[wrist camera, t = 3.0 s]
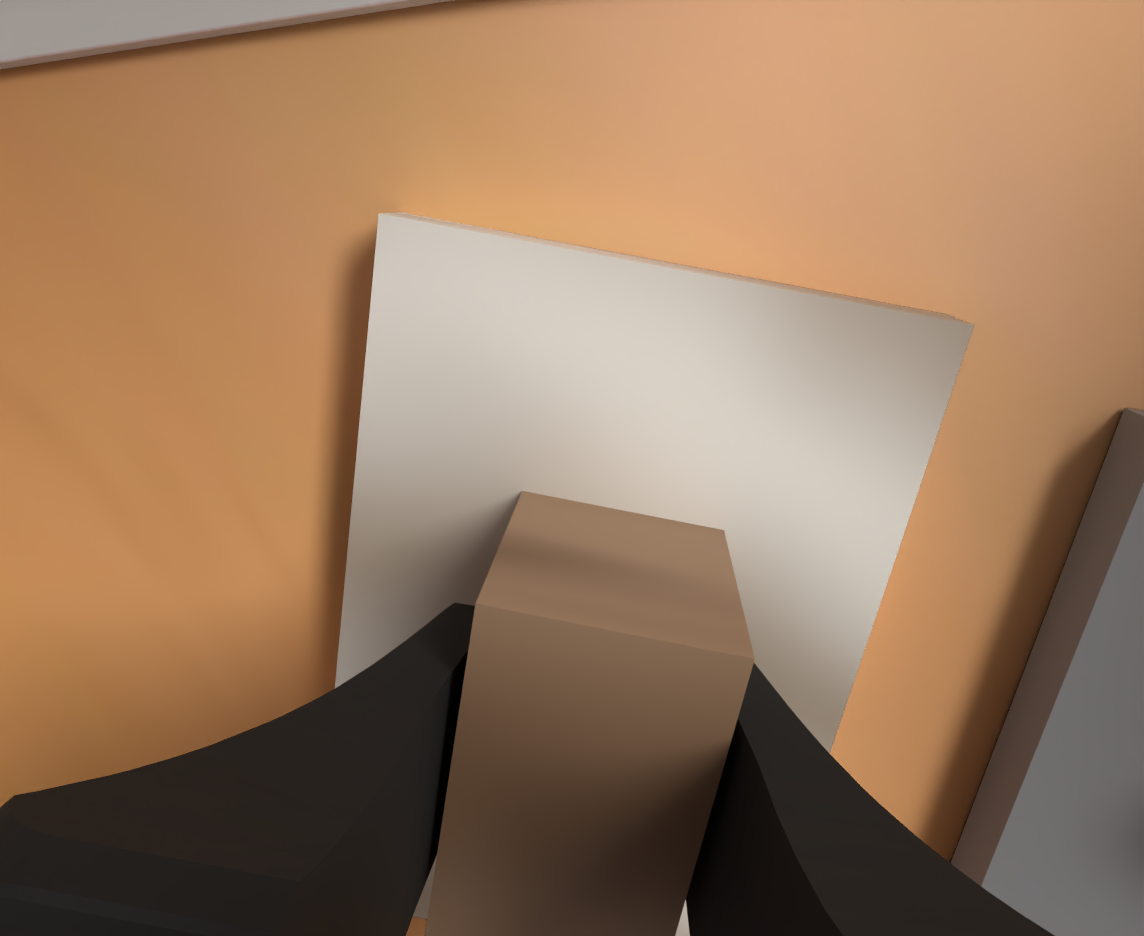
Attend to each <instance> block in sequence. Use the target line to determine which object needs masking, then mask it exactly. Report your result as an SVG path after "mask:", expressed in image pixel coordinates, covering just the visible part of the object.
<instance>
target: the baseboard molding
mask: <svg viewBox="0 0 1144 936" xmlns="http://www.w3.org/2000/svg"><path fill="white" fill-rule="evenodd" d="M447 1H454V0H0V69H7V68H13V67H20V66H26V65H33V64H40V63H46V62H53V61H59V60H66V59H72V58H79V57H86V56H92V55H99V54H105V53H112V52H118V51H125V50H132V49H138V48H145V47H151V46H158V45H164V44H171V43H178V42H184V41H191V40H197V39H204V38H210V37H217V36H224V35H230V34H237V33H243V32H250V31H257V30H263V29H270V28H276V27H283V26H289V25H296V24H303V23H309V22H316V21H322V20H329V19H335V18H342V17H349V16H355V15H362V14H368V13H375V12H381V11H388V10H395V9H401V8H408V7H414V6H421V5H427V4H434V3H441V2H447Z"/></svg>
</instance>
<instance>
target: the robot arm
mask: <svg viewBox="0 0 1144 936" xmlns="http://www.w3.org/2000/svg"><path fill="white" fill-rule="evenodd" d="M474 610H475V606H472V605H466V604H461V603H453V604H452V605H450V606H449V607H447V608H446V609H445V610H443V611H442V612H441V613H440V614H438V615H437V616H436V617H435V618H433V619H432V620H431V621H430V622H429V623H427V624H426V625H425V626H424V627H422V628H421V629H420V630H418V631H417V632H416V633H415V634H413V635H412V636H411V637H409V638H408V639H407V640H406V641H404V642H403V643H402V644H400V645H399V646H397V647H396V648H395V649H393V650H392V651H391V652H389V653H388V654H386V655H385V656H384V657H382V658H381V659H380V660H378V661H377V662H375V663H374V664H372V665H371V666H369V667H368V668H366V669H365V670H363V671H362V672H360V673H359V674H357V675H355V676H354V677H352V678H351V679H349V680H348V681H346V682H344V683H343V684H341V685H340V686H338V687H337V688H335V689H333V690H332V691H330V692H328V693H326V694H325V695H323V696H321V697H319V698H317V699H315V700H313V701H312V702H310V703H308V704H306V705H304V706H302V707H300V708H297V709H295V710H293V711H291V712H289V713H287V714H285V715H283V716H281V717H279V718H277V719H275V720H272V721H270V722H268V723H265V724H263V725H260V726H258V727H255V728H253V729H250V730H248V731H245V732H243V733H240V734H238V735H235V736H233V737H230V738H228V739H225V740H223V741H220V742H218V743H215V744H213V745H210V746H207V747H204V748H202V749H198V750H195V751H192V752H189V753H186V754H183V755H180V756H177V757H174V758H171V759H168V760H164V761H161V762H157V763H154V764H150V765H147V766H143V767H140V768H136V769H133V770H129V771H125V772H121V773H117V774H113V775H110V776H105V777H101V778H96V779H91V780H87V781H82V782H78V783H73V784H68V785H64V786H59V787H55V788H50V789H45V790H41V791H36V792H31V793H25V794H20V795H14V796H13V797H12V798H11V799H10V800H9V801H7V802H6V803H5V804H4V805H3V806H2V807H0V936H406V933H407V930H408V927H409V925H410V922H411V919H412V917H413V914H414V912H415V909H416V906H417V904H418V901H419V899H420V896H421V894H422V891H423V889H424V886H425V884H426V881H427V879H428V876H429V874H430V871H431V869H432V866H433V864H434V861H435V858H436V856H437V852H438V845H439V839H440V832H441V826H442V819H443V813H444V806H445V800H446V793H447V786H448V780H449V773H450V767H451V760H452V754H453V747H454V741H455V734H456V728H457V721H458V715H459V708H460V702H461V695H462V688H463V682H464V675H465V669H466V662H467V656H468V649H469V643H470V636H471V630H472V623H473V617H474ZM686 907H687V915H688V924H689V933H690V936H1055V935H1053V934H1051V933H1050V932H1048V931H1047V930H1045V929H1044V928H1042V927H1040V926H1039V925H1037V924H1036V923H1034V922H1033V921H1031V920H1030V919H1028V918H1026V917H1025V916H1023V915H1022V914H1020V913H1019V912H1017V911H1016V910H1014V909H1013V908H1011V907H1010V906H1008V905H1007V904H1006V903H1004V902H1003V901H1001V900H1000V899H998V898H997V897H995V896H994V895H992V894H991V893H990V892H988V891H987V890H985V889H984V888H983V887H981V886H980V885H979V884H977V883H976V882H975V881H973V880H972V879H971V878H969V877H968V876H967V875H965V874H964V873H963V872H961V871H960V870H959V869H957V868H956V867H955V866H953V865H952V864H951V863H949V862H948V861H947V860H945V859H944V858H943V857H941V856H940V855H939V854H937V853H936V852H935V851H934V850H932V849H931V848H930V847H929V846H928V845H926V844H925V843H924V842H923V841H921V840H920V839H919V838H918V837H916V836H915V835H914V834H913V833H912V832H911V831H910V830H908V829H907V828H906V827H905V826H904V825H903V824H902V823H900V822H899V821H898V820H897V819H896V818H895V817H894V816H893V815H891V814H890V813H889V812H888V811H887V810H886V809H885V808H884V807H882V806H881V805H880V804H879V803H878V802H877V801H876V800H875V799H874V798H873V797H872V796H871V795H869V794H868V793H867V792H866V791H865V790H864V789H863V788H862V787H861V786H860V785H859V784H858V783H857V782H856V781H855V780H854V779H853V778H852V777H851V776H850V774H849V773H848V772H847V771H846V770H845V769H844V768H843V767H842V766H841V765H840V764H839V763H838V762H837V761H836V760H835V759H834V758H833V757H832V756H831V755H830V754H829V752H828V751H827V750H826V749H825V748H824V747H823V746H822V745H821V744H820V742H819V741H818V740H817V739H816V738H815V737H814V736H813V735H812V733H811V732H810V731H809V730H808V729H807V728H806V726H805V725H804V724H803V723H802V722H801V720H800V719H799V718H798V717H797V716H796V714H795V713H794V712H793V711H792V710H791V708H790V707H789V706H788V705H787V703H786V702H785V701H784V700H783V698H782V697H781V696H780V695H779V693H778V692H777V691H776V690H775V688H774V687H773V686H772V685H771V683H770V682H769V681H768V680H767V678H766V677H765V676H764V674H763V673H762V672H761V671H760V669H759V668H758V667H757V666H756V664H755V663H754V664H753V667H752V670H751V674H750V677H749V681H748V684H747V688H746V691H745V695H744V698H743V702H742V705H741V709H740V712H739V716H738V719H737V723H736V726H735V730H734V733H733V737H732V740H731V743H730V747H729V750H728V754H727V757H726V761H725V764H724V768H723V771H722V775H721V778H720V782H719V785H718V789H717V792H716V796H715V799H714V803H713V806H712V810H711V813H710V816H709V820H708V823H707V827H706V830H705V834H704V837H703V841H702V844H701V848H700V851H699V855H698V858H697V862H696V865H695V869H694V872H693V876H692V879H691V883H690V886H689V889H688V893H687V896H686Z"/></svg>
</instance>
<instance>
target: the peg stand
mask: <svg viewBox="0 0 1144 936" xmlns="http://www.w3.org/2000/svg"><path fill="white" fill-rule="evenodd" d="M951 864H952V865H953V866H955V867H956V868H957V869H959V870H960V871H961V872H963V873H964V874H965V875H967V876H968V877H969V878H971V879H972V880H973V881H975V882H976V883H977V884H979V885H980V886H981V887H983V888H984V889H985V890H987V891H988V892H990V893H991V894H992V895H994V896H995V897H997V898H998V899H1000V900H1001V901H1003V902H1004V903H1006V904H1007V905H1008V906H1010V907H1011V908H1013V909H1014V910H1016V911H1017V912H1019V913H1020V914H1022V915H1023V916H1025V917H1026V918H1028V919H1030V920H1031V921H1033V922H1034V923H1036V924H1037V925H1039V926H1040V927H1042V928H1044V929H1045V930H1047V931H1048V932H1050V933H1051V934H1053V935H1055V936H1144V411H1141V410H1134V409H1128V408H1124V411H1123V413H1122V416H1121V418H1120V421H1119V424H1118V426H1117V429H1116V431H1115V434H1114V437H1113V439H1112V442H1111V445H1110V447H1109V450H1108V452H1107V455H1106V458H1105V460H1104V463H1103V465H1102V468H1101V471H1100V473H1099V476H1098V479H1097V481H1096V484H1095V486H1094V489H1093V492H1092V494H1091V497H1090V500H1089V502H1088V505H1087V507H1086V510H1085V513H1084V515H1083V518H1082V520H1081V523H1080V526H1079V528H1078V531H1077V534H1076V536H1075V539H1074V541H1073V544H1072V547H1071V549H1070V552H1069V555H1068V557H1067V560H1066V562H1065V565H1064V568H1063V570H1062V573H1061V575H1060V578H1059V581H1058V583H1057V586H1056V589H1055V591H1054V594H1053V596H1052V599H1051V602H1050V604H1049V607H1048V609H1047V612H1046V615H1045V617H1044V620H1043V623H1042V625H1041V628H1040V630H1039V633H1038V636H1037V638H1036V641H1035V644H1034V646H1033V649H1032V651H1031V654H1030V657H1029V659H1028V662H1027V664H1026V667H1025V670H1024V672H1023V675H1022V678H1021V680H1020V683H1019V685H1018V688H1017V691H1016V693H1015V696H1014V698H1013V701H1012V704H1011V706H1010V709H1009V712H1008V714H1007V717H1006V719H1005V722H1004V725H1003V727H1002V730H1001V733H1000V735H999V738H998V740H997V743H996V746H995V748H994V751H993V753H992V756H991V759H990V761H989V764H988V767H987V769H986V772H985V774H984V777H983V780H982V782H981V785H980V788H979V790H978V793H977V795H976V798H975V801H974V803H973V806H972V808H971V811H970V814H969V816H968V819H967V822H966V824H965V827H964V829H963V832H962V835H961V837H960V840H959V842H958V845H957V848H956V850H955V853H954V856H953V858H952V861H951Z"/></svg>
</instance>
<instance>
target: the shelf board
mask: <svg viewBox="0 0 1144 936" xmlns="http://www.w3.org/2000/svg"><path fill="white" fill-rule="evenodd" d="M973 328H974V325H973V324H970V323H968V322H965V321H962V320H960V319H957V318H955V317H952V316H950V315H947V314H943V313H938V312H932V311H927V310H922V309H916V308H911V307H906V306H900V305H895V304H890V303H884V302H879V301H874V300H868V299H863V298H857V297H852V296H847V295H841V294H836V293H831V292H825V291H820V290H815V289H809V288H804V287H799V286H793V285H788V284H783V283H777V282H772V281H767V280H761V279H756V278H751V277H745V276H740V275H735V274H729V273H724V272H719V271H713V270H708V269H703V268H697V267H692V266H687V265H681V264H676V263H671V262H665V261H660V260H655V259H649V258H644V257H639V256H633V255H628V254H623V253H617V252H612V251H607V250H601V249H596V248H591V247H585V246H580V245H575V244H569V243H564V242H559V241H553V240H548V239H543V238H537V237H532V236H527V235H521V234H516V233H511V232H505V231H500V230H495V229H489V228H484V227H479V226H473V225H468V224H462V223H457V222H452V221H446V220H441V219H436V218H430V217H425V216H420V215H414V214H409V213H404V212H394V213H379V216H378V227H377V238H376V248H375V259H374V270H373V281H372V292H371V302H370V313H369V324H368V335H367V346H366V356H365V367H364V378H363V389H362V400H361V410H360V421H359V432H358V443H357V454H356V465H355V475H354V486H353V497H352V508H351V519H350V529H349V540H348V551H347V562H346V573H345V583H344V594H343V605H342V616H341V627H340V637H339V648H338V659H337V670H336V681H335V688H337V687H338V686H340V685H341V684H343V683H344V682H346V681H348V680H349V679H351V678H352V677H354V676H355V675H357V674H359V673H360V672H362V671H363V670H365V669H366V668H368V667H369V666H371V665H372V664H374V663H375V662H377V661H378V660H380V659H381V658H382V657H384V656H385V655H386V654H388V653H389V652H391V651H392V650H393V649H395V648H396V647H397V646H399V645H400V644H402V643H403V642H404V641H406V640H407V639H408V638H409V637H411V636H412V635H413V634H415V633H416V632H417V631H418V630H420V629H421V628H422V627H424V626H425V625H426V624H427V623H429V622H430V621H431V620H432V619H433V618H435V617H436V616H437V615H438V614H440V613H441V612H442V611H443V610H445V609H446V608H447V607H449V606H450V605H452V604H453V603H461V604H466V605H472V606H475V610H474V617H473V623H472V630H471V636H470V643H469V649H468V656H467V662H466V669H465V675H464V682H463V688H462V695H461V702H460V708H459V715H458V721H457V728H456V734H455V741H454V747H453V754H452V760H451V767H450V773H449V780H448V786H447V793H446V800H445V806H444V813H443V819H442V826H441V832H440V839H439V845H438V852H437V856H436V858H435V861H434V864H433V866H432V869H431V871H430V874H429V876H428V879H427V881H426V884H425V886H424V889H423V891H422V894H421V896H420V899H419V901H418V904H417V906H416V909H415V912H414V914H413V917H418V918H423V919H427V924H426V930H425V936H690V933H689V924H688V915H687V907H686V896H687V893H688V889H689V886H690V883H691V879H692V876H693V872H694V869H695V865H696V862H697V858H698V855H699V851H700V848H701V844H702V841H703V837H704V834H705V830H706V827H707V823H708V820H709V816H710V813H711V810H712V806H713V803H714V799H715V796H716V792H717V789H718V785H719V782H720V778H721V775H722V771H723V768H724V764H725V761H726V757H727V754H728V750H729V747H730V743H731V740H732V737H733V733H734V730H735V726H736V723H737V719H738V716H739V712H740V709H741V705H742V702H743V698H744V695H745V691H746V688H747V684H748V681H749V677H750V674H751V670H752V667H753V664H754V663H755V664H756V666H757V667H758V668H759V669H760V671H761V672H762V673H763V674H764V676H765V677H766V678H767V680H768V681H769V682H770V683H771V685H772V686H773V687H774V688H775V690H776V691H777V692H778V693H779V695H780V696H781V697H782V698H783V700H784V701H785V702H786V703H787V705H788V706H789V707H790V708H791V710H792V711H793V712H794V713H795V714H796V716H797V717H798V718H799V719H800V720H801V722H802V723H803V724H804V725H805V726H806V728H807V729H808V730H809V731H810V732H811V733H812V735H813V736H814V737H815V738H816V739H817V740H818V741H819V742H820V744H821V745H822V746H823V747H824V748H825V749H826V750H827V751H828V752H829V754H830V751H831V748H832V745H833V742H834V739H835V736H836V733H837V730H838V727H839V724H840V721H841V719H842V716H843V713H844V710H845V707H846V704H847V701H848V698H849V695H850V692H851V689H852V686H853V683H854V680H855V677H856V674H857V671H858V668H859V665H860V662H861V659H862V656H863V653H864V650H865V647H866V644H867V642H868V639H869V636H870V633H871V630H872V627H873V624H874V621H875V618H876V615H877V612H878V609H879V606H880V603H881V600H882V597H883V594H884V591H885V588H886V585H887V582H888V579H889V576H890V573H891V570H892V567H893V565H894V562H895V559H896V556H897V553H898V550H899V547H900V544H901V541H902V538H903V535H904V532H905V529H906V526H907V523H908V520H909V517H910V514H911V511H912V508H913V505H914V502H915V499H916V496H917V493H918V490H919V487H920V485H921V482H922V479H923V476H924V473H925V470H926V467H927V464H928V461H929V458H930V455H931V452H932V449H933V446H934V443H935V440H936V437H937V434H938V431H939V428H940V425H941V422H942V419H943V416H944V413H945V410H946V408H947V405H948V402H949V399H950V396H951V393H952V390H953V387H954V384H955V381H956V378H957V375H958V372H959V369H960V366H961V363H962V360H963V357H964V354H965V351H966V348H967V345H968V342H969V339H970V336H971V333H972V331H973Z"/></svg>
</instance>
